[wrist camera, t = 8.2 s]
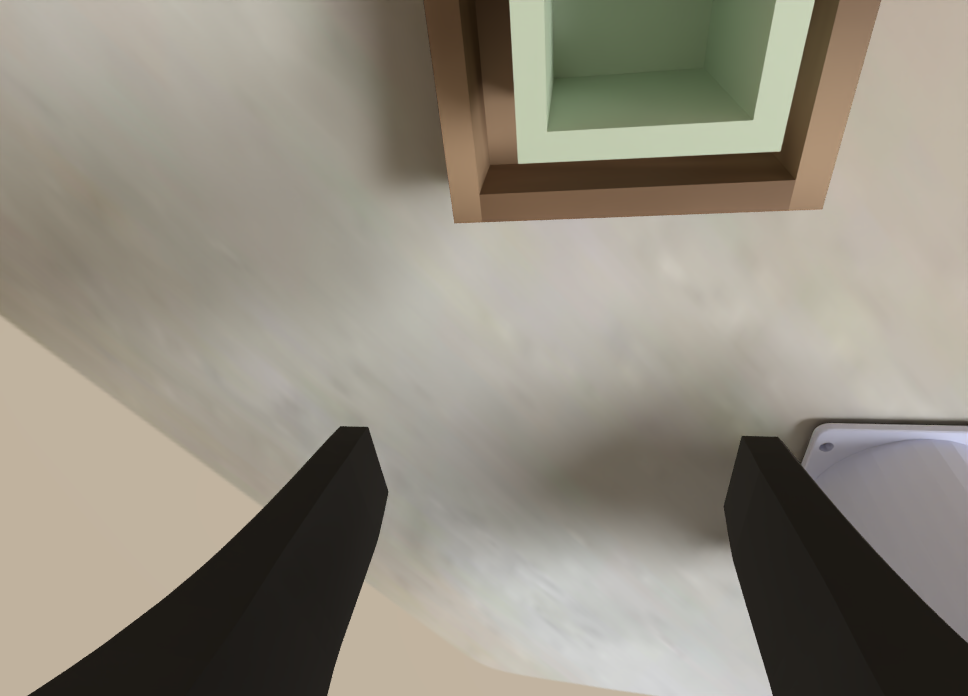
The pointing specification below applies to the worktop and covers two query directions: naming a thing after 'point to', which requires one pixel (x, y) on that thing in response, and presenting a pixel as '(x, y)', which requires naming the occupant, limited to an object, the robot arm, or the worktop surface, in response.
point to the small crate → (653, 76)
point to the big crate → (637, 181)
